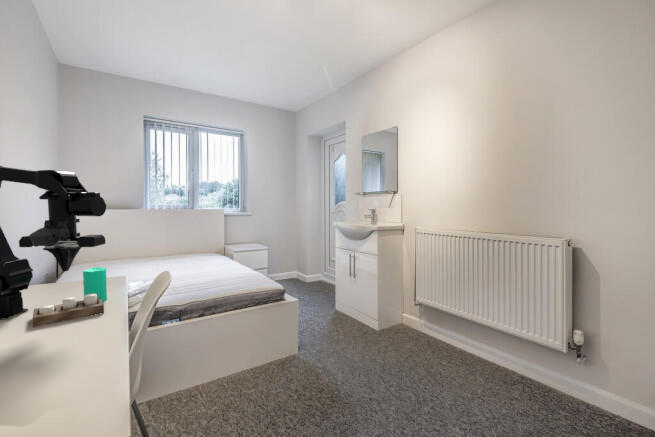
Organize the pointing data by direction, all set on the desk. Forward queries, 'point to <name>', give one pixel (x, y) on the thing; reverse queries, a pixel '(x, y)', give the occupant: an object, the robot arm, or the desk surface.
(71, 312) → the button board
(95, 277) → the candle
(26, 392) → the desk surface
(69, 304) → the button middle
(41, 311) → the button near
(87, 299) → the button far
